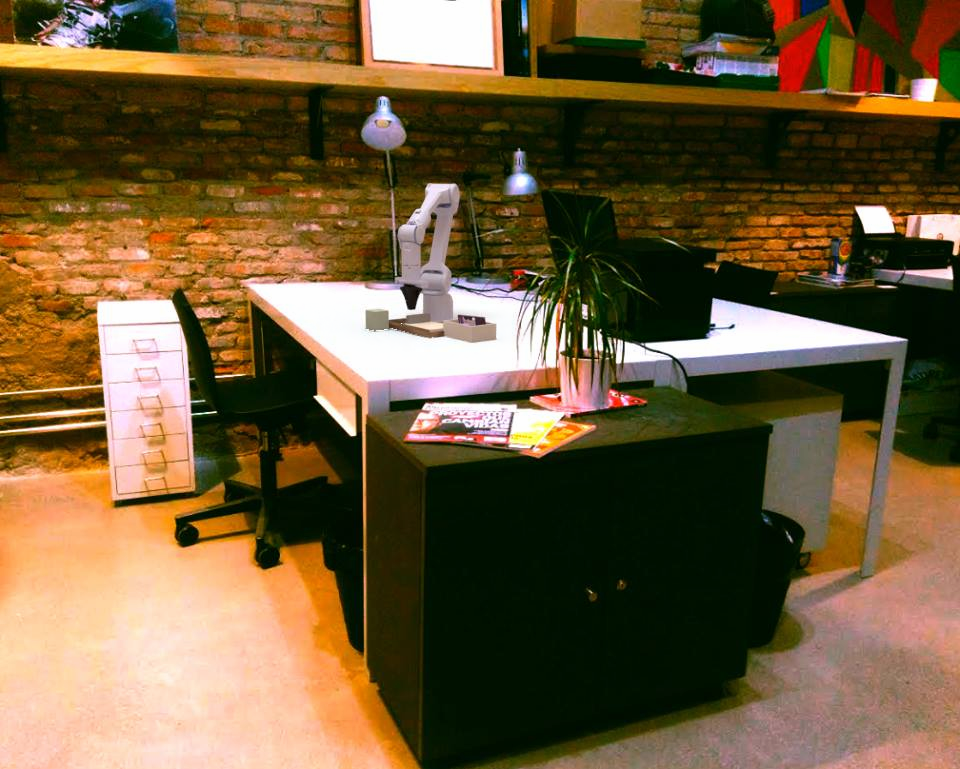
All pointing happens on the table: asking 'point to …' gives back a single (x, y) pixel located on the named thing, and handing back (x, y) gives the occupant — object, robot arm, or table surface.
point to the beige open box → (469, 330)
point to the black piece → (477, 319)
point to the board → (413, 328)
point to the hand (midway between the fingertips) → (411, 309)
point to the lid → (423, 322)
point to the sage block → (377, 319)
